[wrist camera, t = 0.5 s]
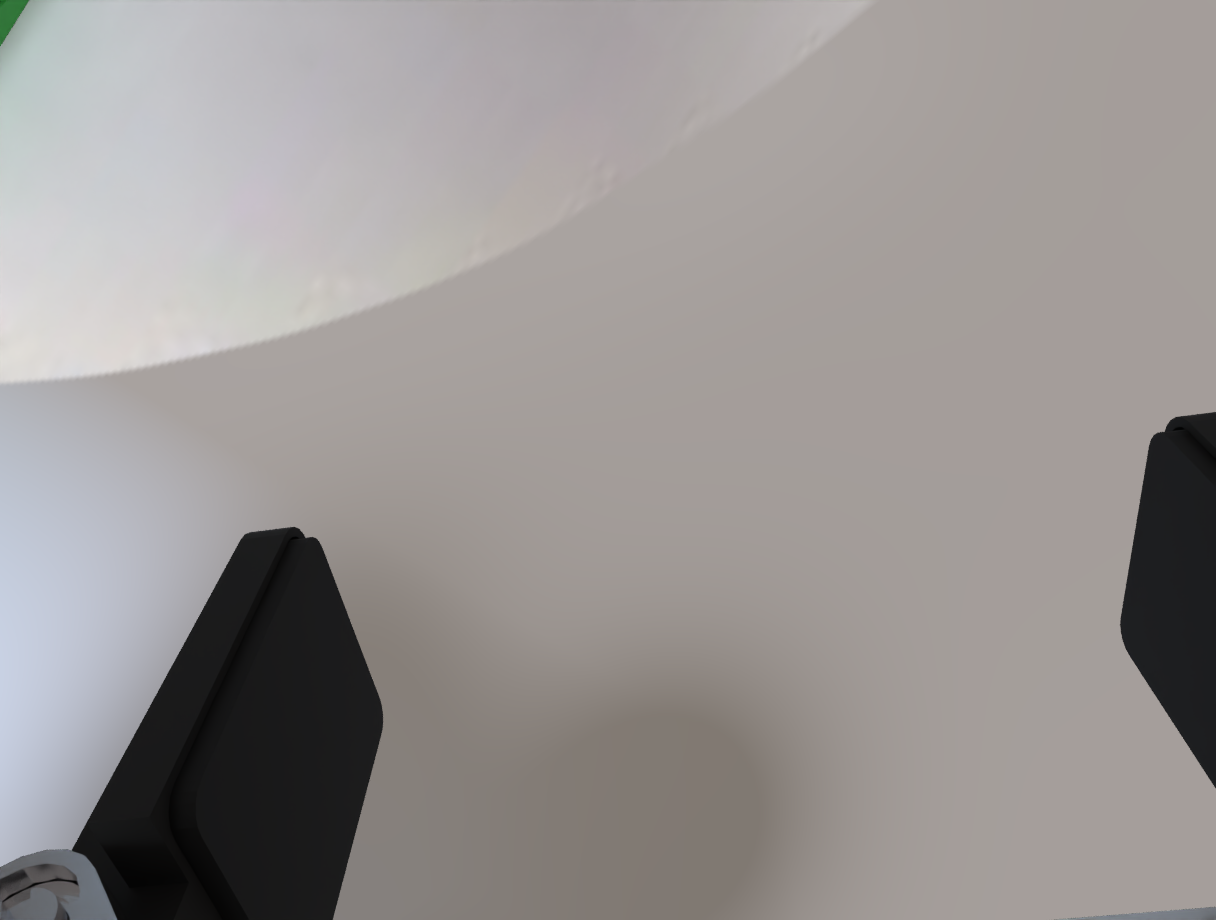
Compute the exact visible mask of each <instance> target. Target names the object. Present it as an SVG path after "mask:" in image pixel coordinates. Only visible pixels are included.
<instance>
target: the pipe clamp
mask: <svg viewBox="0 0 1216 920" xmlns="http://www.w3.org/2000/svg"><path fill="white" fill-rule="evenodd" d="M28 1H29V0H0V46H1V44H2V43H3V41H4V40H5V38H6V36H7V35H8V33H9V32H10V30H11V28H12V27H13V25H14V24H15V22H16V20H17V19H18V17H19V16H20V14H21V12H22V11H23V9H24V8H25V6H26V4H27V3H28Z"/></svg>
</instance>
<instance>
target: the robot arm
mask: <svg viewBox="0 0 1216 920" xmlns="http://www.w3.org/2000/svg"><path fill="white" fill-rule="evenodd" d="M1120 626H1121V634H1122V639H1123V642H1124V645H1125V648H1126V650H1127V652H1128V654H1129V655H1130V657H1131V659H1132V660H1133V661H1134V663H1135V665H1136V666H1137V668H1138V669H1139V671H1140V672H1141V674H1142V676H1143V677H1144V679H1145V680H1146V682H1147V683H1148V685H1149V686H1150V688H1151V689H1152V691H1153V692H1154V694H1155V695H1156V697H1157V699H1158V700H1159V701H1160V703H1161V705H1162V706H1163V708H1164V709H1165V711H1166V712H1167V714H1168V716H1169V717H1170V719H1171V720H1172V722H1173V723H1174V725H1175V726H1176V728H1177V729H1178V731H1179V732H1180V734H1181V736H1182V737H1183V739H1184V740H1185V742H1186V743H1187V745H1188V746H1189V748H1190V750H1191V751H1192V752H1193V754H1194V755H1195V757H1196V759H1197V760H1198V762H1199V763H1200V765H1201V766H1202V768H1203V769H1204V771H1205V772H1206V774H1207V775H1208V777H1209V779H1210V780H1211V782H1212V783H1213V785H1214V786H1215V788H1216V412H1213V413H1205V414H1197V415H1190V416H1181V417H1175V418H1174V419H1172V420H1170V422H1169V423H1168V425H1167V427H1166V430H1165V432H1160V433H1157V434H1155V435H1154V436H1153V438H1152V439H1151V441H1150V445H1149V450H1148V456H1147V462H1146V468H1145V475H1144V481H1143V486H1142V493H1141V499H1140V505H1139V511H1138V517H1137V523H1136V529H1135V535H1134V541H1133V547H1132V553H1131V559H1130V565H1129V571H1128V577H1127V584H1126V590H1125V595H1124V601H1123V608H1122V614H1121V624H1120ZM382 728H383V711H382V705H381V701H380V698H379V695H378V693H377V690H376V687H375V685H374V682H373V680H372V677H371V675H370V672H369V669H368V667H367V664H366V661H365V659H364V656H363V653H362V651H361V648H360V646H359V643H358V640H357V638H356V635H355V633H354V630H353V627H352V625H351V622H350V619H349V617H348V614H347V611H346V609H345V606H344V604H343V601H342V598H341V596H340V593H339V591H338V588H337V585H336V583H335V580H334V577H333V575H332V572H331V569H330V567H329V564H328V562H327V559H326V557H325V554H324V551H323V548H322V546H321V544H320V543H319V541H318V540H317V539H316V538H314V537H309V538H305V536H304V534H303V533H302V532H301V531H300V529H298V528H296V527H290V528H281V529H274V530H266V531H258V532H250V533H247V534H245V535H244V536H243V538H242V539H241V540H240V542H239V544H238V546H237V548H236V549H235V551H234V553H233V555H232V557H231V559H230V561H229V562H228V564H227V566H226V568H225V570H224V572H223V573H222V575H221V577H220V579H219V581H218V582H217V584H216V586H215V588H214V590H213V592H212V593H211V596H210V597H209V599H208V601H207V603H206V605H205V606H204V608H203V610H202V612H201V614H200V616H199V617H198V619H197V621H196V623H195V625H194V627H193V628H192V630H191V632H190V634H189V636H188V638H187V640H186V642H185V643H184V645H183V647H182V649H181V651H180V652H179V654H178V656H177V658H176V660H175V662H174V663H173V665H172V667H171V669H170V671H169V672H168V674H167V676H166V678H165V680H164V682H163V684H162V685H161V687H160V689H159V691H158V693H157V695H156V696H155V698H154V700H153V702H152V704H151V705H150V708H149V709H148V711H147V713H146V715H145V717H144V719H143V720H142V722H141V724H140V726H139V728H138V729H137V731H136V733H135V735H134V737H133V739H132V740H131V743H130V744H129V746H128V748H127V750H126V751H125V753H124V755H123V757H122V759H121V761H120V763H119V764H118V766H117V768H116V770H115V772H114V773H113V776H112V777H111V779H110V781H109V783H108V785H107V786H106V788H105V790H104V792H103V794H102V796H101V797H100V799H99V801H98V803H97V805H96V807H95V809H94V810H93V812H92V814H91V816H90V818H89V819H88V821H87V823H86V825H85V827H84V829H83V830H82V832H81V834H80V836H79V838H78V840H77V842H76V843H75V845H74V847H73V849H72V851H71V850H68V849H66V850H44V851H40V852H37V853H34V854H30V855H26V856H22V857H20V858H18V859H16V860H14V861H12V862H10V863H8V864H6V865H4V866H2V867H0V920H333V916H334V912H335V909H336V905H337V901H338V897H339V893H340V890H341V886H342V882H343V878H344V874H345V871H346V867H347V863H348V859H349V855H350V852H351V848H352V844H353V840H354V836H355V833H356V828H357V825H358V821H359V817H360V814H361V810H362V806H363V802H364V798H365V794H366V790H367V787H368V783H369V779H370V775H371V771H372V768H373V764H374V760H375V756H376V753H377V749H378V745H379V741H380V737H381V733H382ZM1056 920H1216V907H1208V908H1195V909H1183V910H1170V911H1157V912H1146V913H1132V914H1119V915H1107V916H1096V917H1095V916H1094V917H1082V918H1070V919H1056Z"/></svg>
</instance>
